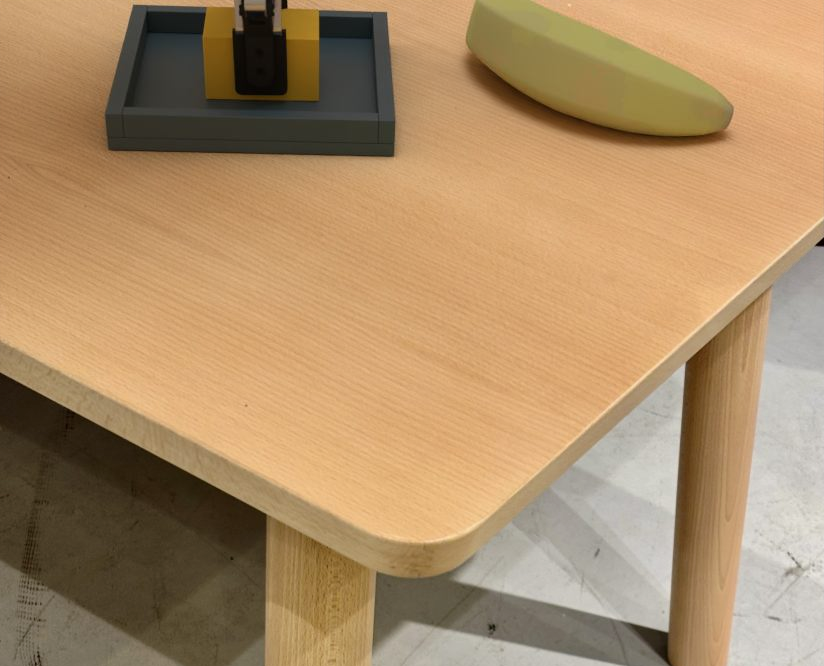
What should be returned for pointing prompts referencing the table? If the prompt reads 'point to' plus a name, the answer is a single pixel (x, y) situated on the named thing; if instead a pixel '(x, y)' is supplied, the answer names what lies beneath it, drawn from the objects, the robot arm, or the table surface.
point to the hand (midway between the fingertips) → (262, 71)
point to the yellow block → (299, 55)
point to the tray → (250, 119)
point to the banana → (591, 72)
